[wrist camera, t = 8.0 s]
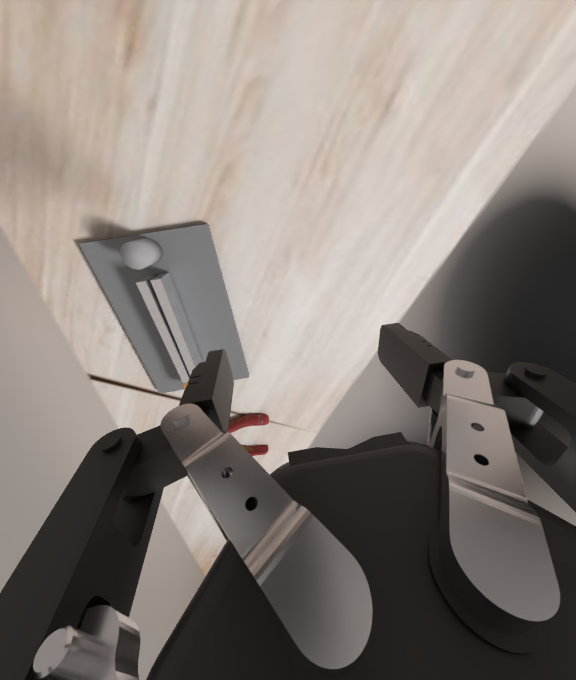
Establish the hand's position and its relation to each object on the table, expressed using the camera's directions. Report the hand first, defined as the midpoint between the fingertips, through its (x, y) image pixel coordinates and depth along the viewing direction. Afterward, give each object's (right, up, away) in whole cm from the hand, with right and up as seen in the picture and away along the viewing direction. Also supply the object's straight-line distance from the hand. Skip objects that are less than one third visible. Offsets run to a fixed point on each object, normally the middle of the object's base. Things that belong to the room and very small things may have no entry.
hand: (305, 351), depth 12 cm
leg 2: (-16, +2, +24) cm, 29 cm away
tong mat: (-18, +4, +24) cm, 30 cm away
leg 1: (-18, +1, +24) cm, 30 cm away
